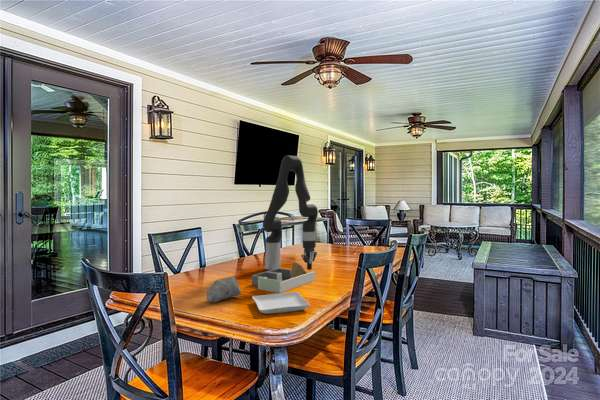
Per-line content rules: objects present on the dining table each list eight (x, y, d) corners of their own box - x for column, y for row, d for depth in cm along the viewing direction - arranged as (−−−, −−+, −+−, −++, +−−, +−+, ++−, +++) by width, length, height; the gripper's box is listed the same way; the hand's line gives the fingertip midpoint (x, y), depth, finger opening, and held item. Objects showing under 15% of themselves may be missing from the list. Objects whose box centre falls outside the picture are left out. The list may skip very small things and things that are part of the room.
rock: (310, 274, 215) (293, 271, 217) (310, 264, 210) (293, 261, 211) (306, 289, 207) (288, 286, 209) (306, 279, 201) (288, 276, 203)
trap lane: (245, 286, 198) (245, 275, 198) (282, 275, 223) (282, 265, 223) (279, 293, 184) (279, 280, 184) (315, 280, 209) (315, 269, 209)
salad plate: (259, 317, 149) (259, 309, 149) (251, 303, 170) (251, 295, 170) (311, 312, 155) (310, 304, 155) (297, 298, 175) (297, 291, 175)
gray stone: (206, 306, 165) (206, 283, 164) (205, 297, 179) (205, 276, 179) (243, 302, 169) (243, 280, 169) (239, 294, 183) (239, 273, 183)
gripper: (310, 237, 224) (310, 267, 225) (296, 240, 214) (297, 270, 214) (320, 238, 220) (321, 268, 220) (307, 241, 209) (308, 272, 210)
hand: (309, 269), depth 217 cm, fingers closed
